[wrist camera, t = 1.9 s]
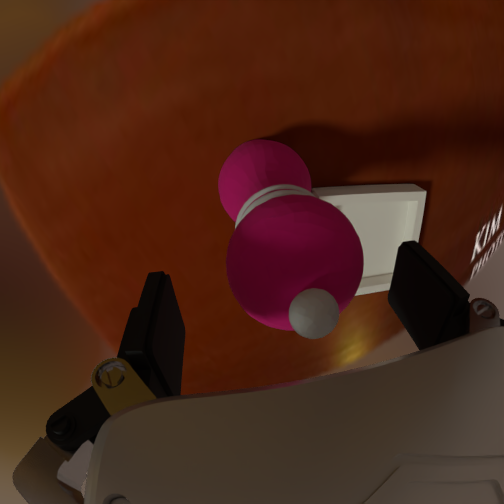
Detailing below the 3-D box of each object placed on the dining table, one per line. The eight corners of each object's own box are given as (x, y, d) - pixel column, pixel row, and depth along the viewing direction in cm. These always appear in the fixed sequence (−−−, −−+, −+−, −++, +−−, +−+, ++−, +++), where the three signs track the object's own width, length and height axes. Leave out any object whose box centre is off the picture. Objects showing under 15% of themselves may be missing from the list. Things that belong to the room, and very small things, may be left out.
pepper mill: (212, 200, 27) (195, 384, 10) (229, 125, 24) (234, 203, 7) (285, 214, 29) (359, 391, 12) (306, 144, 25) (449, 255, 8)
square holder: (414, 183, 28) (426, 191, 26) (398, 274, 34) (407, 286, 32) (312, 188, 28) (319, 196, 25) (310, 288, 34) (315, 301, 31)
